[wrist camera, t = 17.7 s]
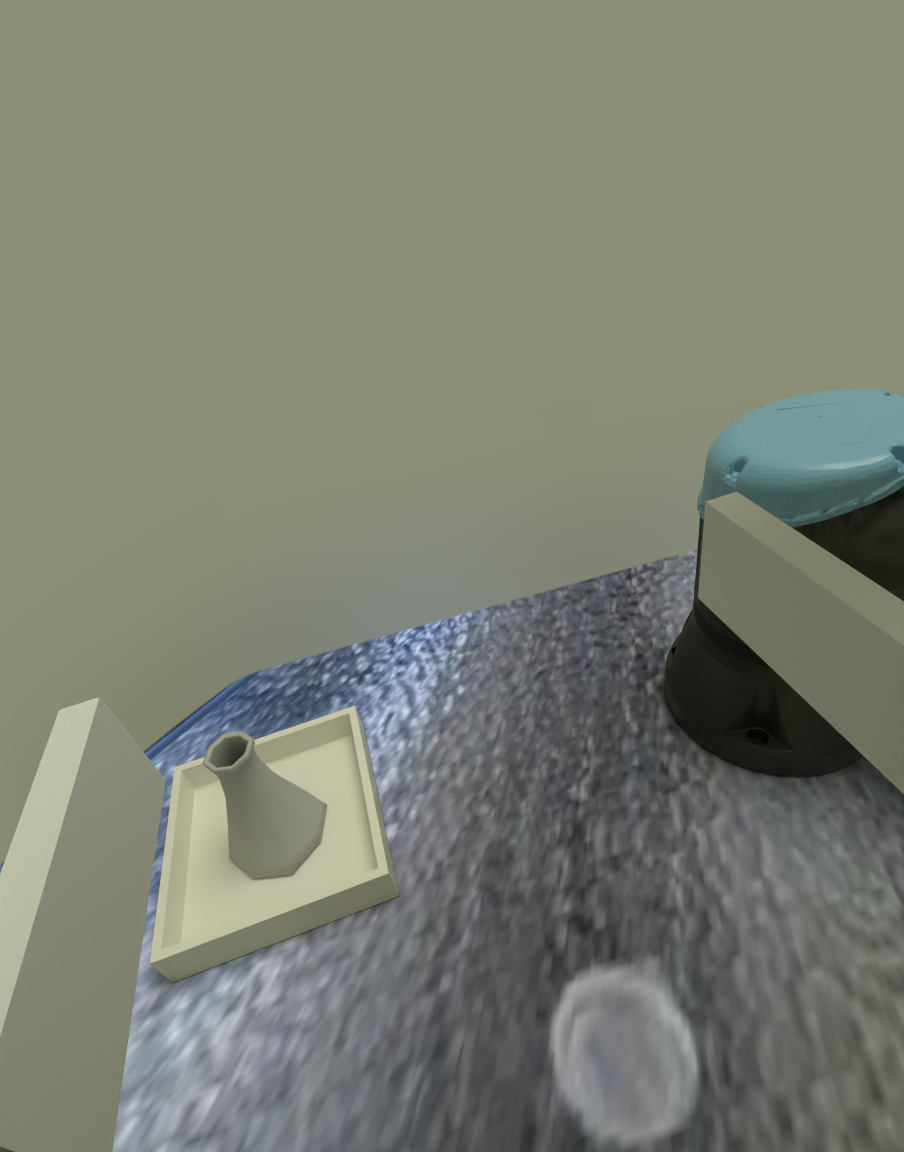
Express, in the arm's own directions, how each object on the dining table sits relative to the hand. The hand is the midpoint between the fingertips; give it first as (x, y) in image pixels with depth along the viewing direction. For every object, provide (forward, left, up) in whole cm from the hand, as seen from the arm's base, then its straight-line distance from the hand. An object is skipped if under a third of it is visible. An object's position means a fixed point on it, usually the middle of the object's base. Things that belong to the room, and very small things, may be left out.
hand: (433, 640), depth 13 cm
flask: (+13, -20, -31) cm, 39 cm away
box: (+13, -20, -31) cm, 39 cm away
